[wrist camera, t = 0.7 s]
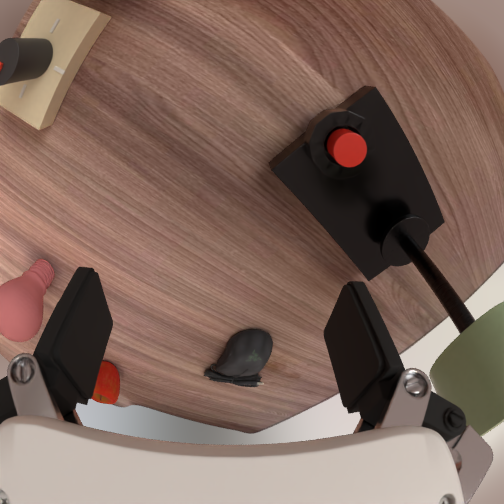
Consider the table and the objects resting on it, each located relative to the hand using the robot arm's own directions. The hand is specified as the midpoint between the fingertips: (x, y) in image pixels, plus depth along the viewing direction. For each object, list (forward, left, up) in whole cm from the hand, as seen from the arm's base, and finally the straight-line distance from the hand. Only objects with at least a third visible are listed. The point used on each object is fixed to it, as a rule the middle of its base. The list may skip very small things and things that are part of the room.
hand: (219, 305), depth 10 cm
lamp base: (+4, +14, -18) cm, 23 cm away
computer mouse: (+30, -1, -18) cm, 34 cm away
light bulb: (+10, -26, -18) cm, 33 cm away
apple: (+33, -26, -18) cm, 45 cm away
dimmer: (-14, -16, -18) cm, 28 cm away
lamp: (+7, +17, -13) cm, 23 cm away
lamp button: (-2, +9, -14) cm, 17 cm away
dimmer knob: (-14, -16, -15) cm, 26 cm away
